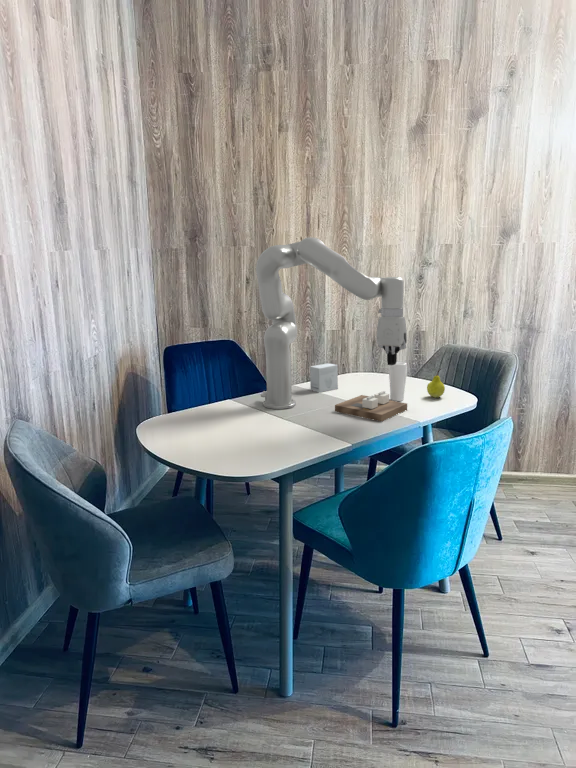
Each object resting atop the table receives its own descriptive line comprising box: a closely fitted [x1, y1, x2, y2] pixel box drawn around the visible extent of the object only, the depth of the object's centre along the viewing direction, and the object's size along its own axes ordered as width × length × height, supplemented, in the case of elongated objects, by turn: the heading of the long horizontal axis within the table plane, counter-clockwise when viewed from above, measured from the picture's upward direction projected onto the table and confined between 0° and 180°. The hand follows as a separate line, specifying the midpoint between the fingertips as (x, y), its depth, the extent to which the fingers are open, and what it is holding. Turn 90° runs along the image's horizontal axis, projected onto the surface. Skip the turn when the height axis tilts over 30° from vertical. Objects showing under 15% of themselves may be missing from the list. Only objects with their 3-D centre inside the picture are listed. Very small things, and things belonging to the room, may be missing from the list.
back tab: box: [373, 390, 390, 404], centre depth 210 cm, size 4×4×4 cm
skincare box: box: [309, 362, 339, 393], centre depth 240 cm, size 10×6×10 cm, turn 126°
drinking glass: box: [388, 360, 408, 402], centre depth 222 cm, size 7×7×15 cm
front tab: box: [362, 395, 378, 409], centre depth 204 cm, size 4×4×4 cm
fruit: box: [426, 368, 446, 399], centre depth 226 cm, size 7×7×12 cm
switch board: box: [334, 394, 408, 422], centre depth 209 cm, size 20×18×2 cm
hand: (391, 364), depth 202 cm, fingers closed
